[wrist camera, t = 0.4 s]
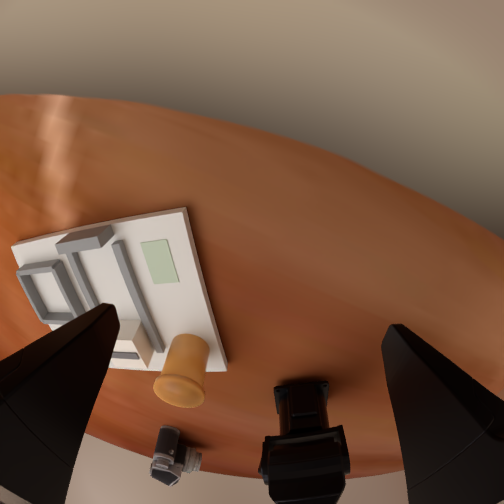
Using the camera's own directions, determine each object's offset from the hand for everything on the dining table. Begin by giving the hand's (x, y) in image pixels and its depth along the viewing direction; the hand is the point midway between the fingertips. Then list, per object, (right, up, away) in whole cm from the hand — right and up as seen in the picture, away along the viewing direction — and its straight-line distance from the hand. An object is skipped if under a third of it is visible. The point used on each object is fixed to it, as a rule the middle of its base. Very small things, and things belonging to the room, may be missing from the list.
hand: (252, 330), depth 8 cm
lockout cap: (-6, -7, +19) cm, 21 cm away
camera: (-14, -33, +34) cm, 50 cm away
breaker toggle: (-12, -6, +18) cm, 23 cm away
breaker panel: (-15, -3, +18) cm, 24 cm away
